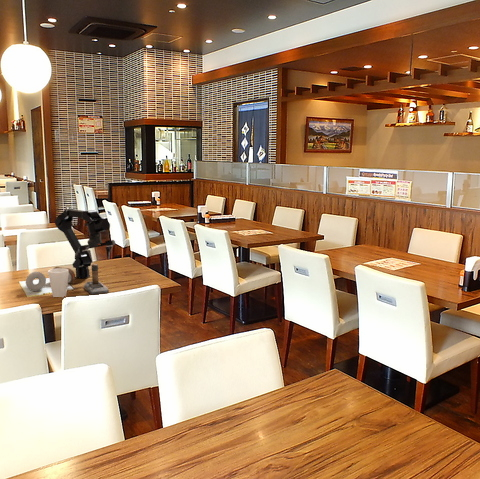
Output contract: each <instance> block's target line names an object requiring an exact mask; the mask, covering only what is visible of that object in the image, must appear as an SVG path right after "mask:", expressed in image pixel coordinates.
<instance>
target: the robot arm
mask: <svg viewBox="0 0 480 479" xmlns="http://www.w3.org/2000/svg"><path fill="white" fill-rule="evenodd" d="M74 218H77V219H78V218H79V219H82V220H83V221H85V222H86V223H85V224H84V226H85V227H87V230H88V236H89V238H88V240H87V244H84V245H83V244H81V242H80V240H79V239H78V237H77V235H76V233H75V231H74V230H73V220H74ZM54 225H55V226H56V228H57V229H58V230H59V231H60V232H62V233H63V234H64V236H65V238H66V240H67V241H68V243H69V245H70V246H71V248H72V249H73V250H72V251H73V252H74V261H73V262H72V268H74V269H75V279H83V280H84V279H88V278H90V277H91V275H90V274H91V273H90V268H89V267H92V266H91V265H92V264H93V257H92V253H91V249H93V248H94V249H95V248H99V247H100V248H101V247H105V250H106V258H107V260H108V261H109V260H110V255H111V251H112V247H114V245H116V241H115V240H114V239H111V240H106V241H104V242H103V241H102V234H101V232H106V231H109V230H110V228H111V223H110V222H109V221H108V220H107V219H106V217H102V216H101V214H100V213H99V212H98V210H96V209H91V210H90V209H89V210H81V209H80V210H79V209H74V208H66V209H63V211H62V212H61V213H60V214H58V215H57V216H56V218H55V219H54Z"/></svg>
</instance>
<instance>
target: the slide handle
mask: <svg viewBox="0 0 480 479" xmlns="http://www.w3.org/2000/svg"><path fill="white" fill-rule="evenodd" d="M90 267H91V273H92V274H91V279H92V281H91V282H92V283H89V286H90V287H91V288H99V287H102V284H103V283H102V282H101V281H99V264H97V263H94V264H93V263H92V264H91V266H90ZM100 282H101V283H102V284H101V283H100Z"/></svg>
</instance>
